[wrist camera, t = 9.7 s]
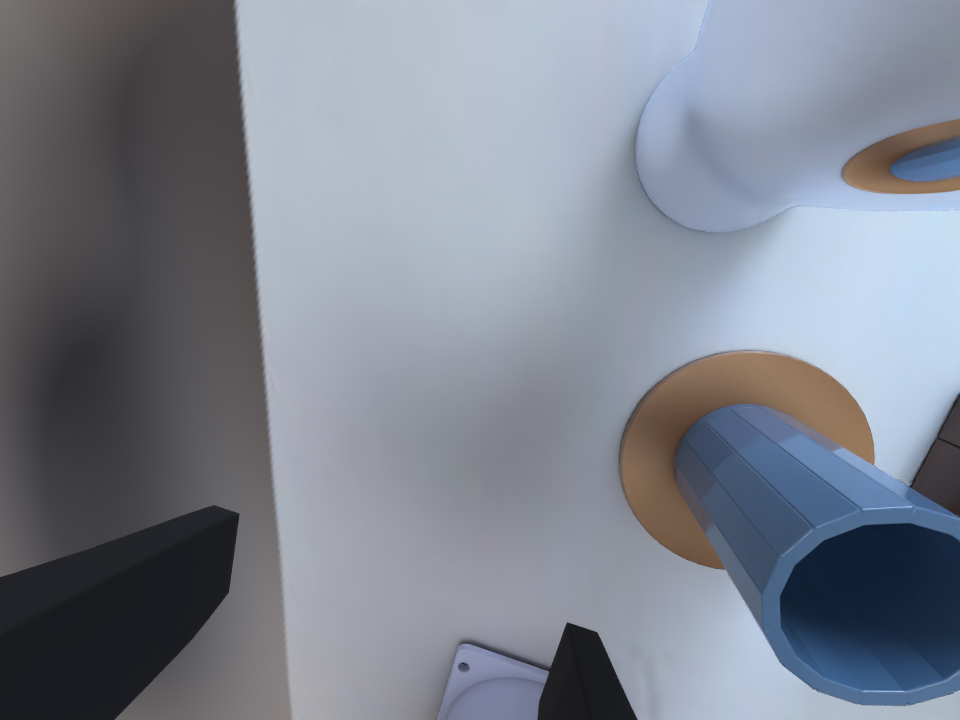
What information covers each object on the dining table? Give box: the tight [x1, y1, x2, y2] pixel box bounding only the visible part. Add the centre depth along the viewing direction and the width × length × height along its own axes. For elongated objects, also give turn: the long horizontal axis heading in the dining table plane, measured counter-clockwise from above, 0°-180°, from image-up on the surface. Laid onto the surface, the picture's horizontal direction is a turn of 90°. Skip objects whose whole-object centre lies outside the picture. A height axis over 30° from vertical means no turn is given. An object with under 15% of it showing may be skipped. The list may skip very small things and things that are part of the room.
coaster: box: [620, 350, 875, 570], centre depth 17 cm, size 9×9×1 cm
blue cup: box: [674, 404, 960, 706], centre depth 13 cm, size 5×5×8 cm
